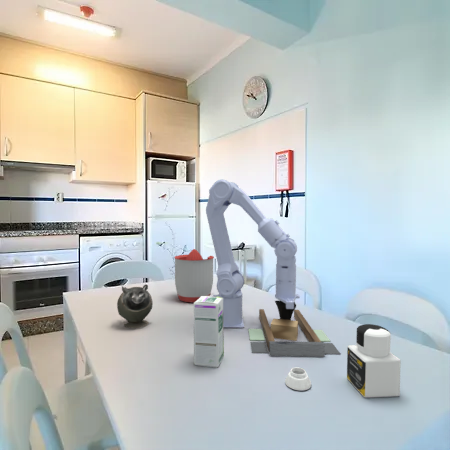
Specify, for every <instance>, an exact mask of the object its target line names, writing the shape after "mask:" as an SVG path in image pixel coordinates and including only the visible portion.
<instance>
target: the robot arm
mask: <svg viewBox="0 0 450 450" xmlns="http://www.w3.org/2000/svg"><path fill="white" fill-rule="evenodd" d="M208 192H209V193H208V195H209V196H208V200H207V204H206V208H205V214H206V218H207V223H208V227H209V231H210V235H211V240H212V245H213V248H214V254H215V257H216V262H217V267H218V268H217V271H216V277H217V281H216V290H217V292H218V294H213V295H212V296H217V297H223V328H234V329H235V328H236V329H237V328H239V329H242V328H244V327H245V324H244V318H243V292H242V289H243V287H244V285H245V278H244V275H243V274H242V273H241V272H240V269H239V266H238V264H237V263H236V262H235V258H234V254H233V249H232V244H231V240H230V236H229V232H228V228H227V223H226V218H225V215H224V214H225V212H226V211H227V209H228V207H230V205H231V204H233V205H237V206H239V207H240V208H241V209H243V211H244V212H245V213H247V215H248V216H249V217H250V218H251V219H252V220H253V222H255V224H256V225H257V232H258V233H259V235H260V236H261V237H262V238H263V239H264V240H265V241H266V242H267V244H268V245H269V246H270V247H271V248H273V249H274V250H273V251H274V255H275V256H276V264H275V294H274V299H276V300H274V303H275V304H276V306H277V307H276V308H277V310H278V311H277V312H278V317H279V319H284V320H292V317H293V315H294V310H296V308H297V304H296V302H295V301H296V300H297V299H300V297H301V296H300V294H297V293H296V292H297V290H296V289H297V288H296V287H297V286H296V285H297V284H296V283H297V281H296V280H297V265H296V262H297V258H296V254H297V251H298V247H297V243H296V242H295V240H294V239H292V238H290V237H291V236H290V234H289V233H286V232H285V231H284V230H283V229H282V228H281V226H280V222H279V221H278V220H275V219H273V218H269V217H268V218H267V217H266V216H265V215H264V213H263V211H261V210H260V209H259V207H258V206H257V205H256V203H255V202H254V201H253V200H252V199H251V198H250V196H249V195H248V194H247V193H246V192H245V191H244V190H243V189H242V188H241V187H239V185H238V184H237V183H235V182H233V181H228V180H227V179H218V180H216V181H215V182H214V183H213V184H212V186H211V187H210V189H208Z"/></svg>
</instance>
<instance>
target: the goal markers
mask: <svg viewBox="0 0 450 450" xmlns="http://www.w3.org/2000/svg"><path fill="white" fill-rule="evenodd" d="M247 331H248V337H249V341H250V342H266V339H265V336H264V332H263V329H262V328H248V330H247ZM313 331H314V332H315V334H316V335H317V336H318V338H319V339H320V341H321V342H323V343H332V342H331V340H330V338H329V337H328V336H327V335H326V333H325V332H324V330H323V329H313Z"/></svg>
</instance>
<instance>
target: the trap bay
mask: <svg viewBox="0 0 450 450" xmlns="http://www.w3.org/2000/svg"><path fill="white" fill-rule="evenodd" d="M249 344H250V349H251V353H252V354H269V356H270V357H307V358H308V357H309V358H311V357H312V358H314V357H315V358H316V357H317V358H319V357H320V358H321V357H322V358H325V355H341V352H340V350H339V349H337V347H336V346H335V344H334V343H332V342H309V341H291V340H285V341H283V340H282V341H281V340H280V341H279V340H277V341H276V340H275V341H269V350H268V347H267V343H266V341H250V343H249Z"/></svg>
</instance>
